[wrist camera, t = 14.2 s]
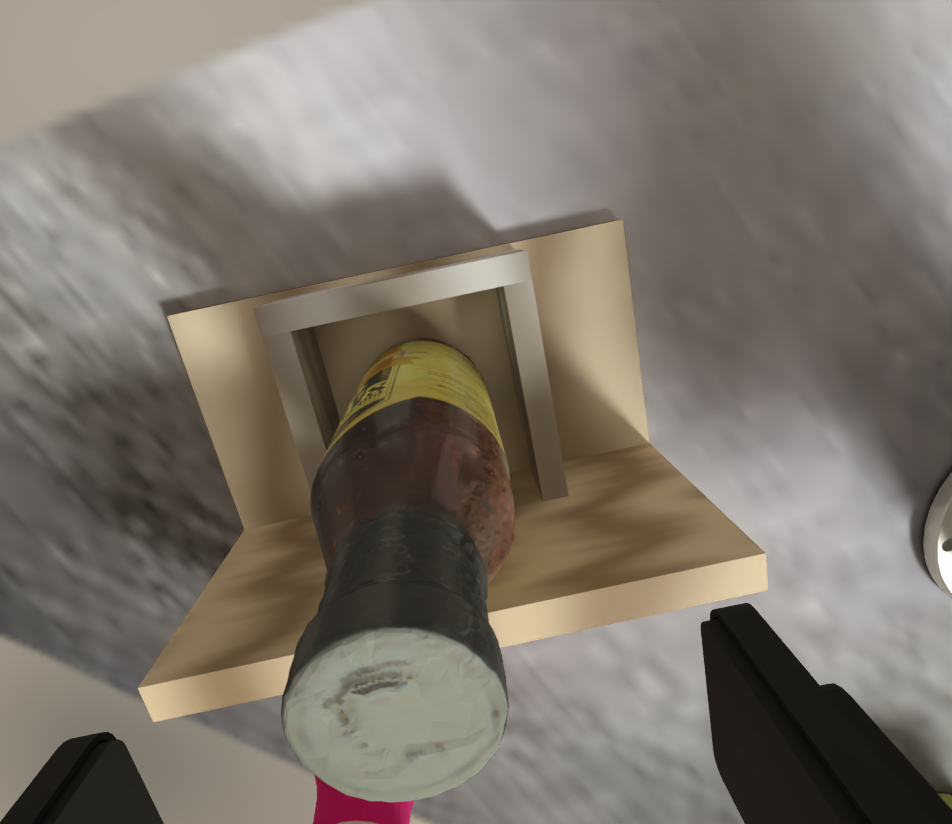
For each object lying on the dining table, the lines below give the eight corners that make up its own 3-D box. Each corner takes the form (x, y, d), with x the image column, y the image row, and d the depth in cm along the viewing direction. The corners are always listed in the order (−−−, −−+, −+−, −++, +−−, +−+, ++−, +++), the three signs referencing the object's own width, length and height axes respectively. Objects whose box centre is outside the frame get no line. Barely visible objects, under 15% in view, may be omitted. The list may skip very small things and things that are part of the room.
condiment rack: (617, 220, 28) (746, 203, 16) (647, 463, 31) (768, 590, 20) (174, 314, 28) (-15, 365, 16) (257, 546, 31) (153, 722, 20)
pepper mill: (311, 608, 33) (134, 1125, 14) (436, 592, 33) (436, 1078, 14) (334, 708, 35) (208, 1279, 16) (451, 692, 35) (468, 1235, 16)
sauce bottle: (376, 320, 27) (238, 491, 8) (500, 351, 28) (630, 571, 9) (349, 444, 29) (184, 821, 10) (467, 470, 30) (519, 863, 11)
